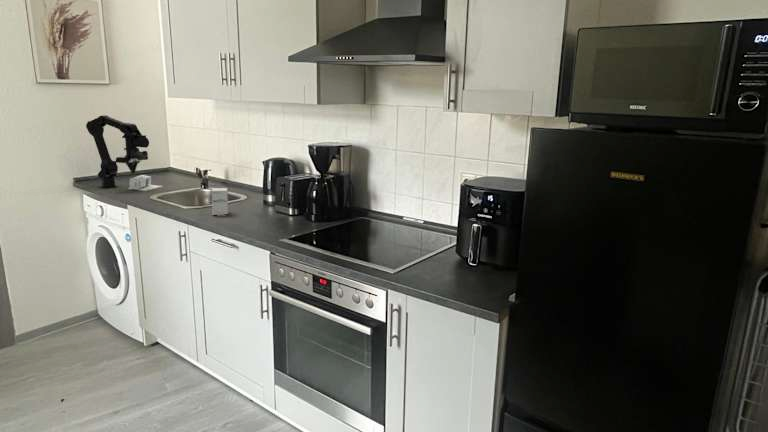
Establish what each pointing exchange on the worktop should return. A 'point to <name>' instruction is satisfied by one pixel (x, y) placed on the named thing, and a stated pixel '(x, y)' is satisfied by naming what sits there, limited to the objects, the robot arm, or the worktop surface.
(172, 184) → the worktop surface
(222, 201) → the supplement box
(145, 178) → the syrup box
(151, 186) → the mat
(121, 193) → the worktop surface
